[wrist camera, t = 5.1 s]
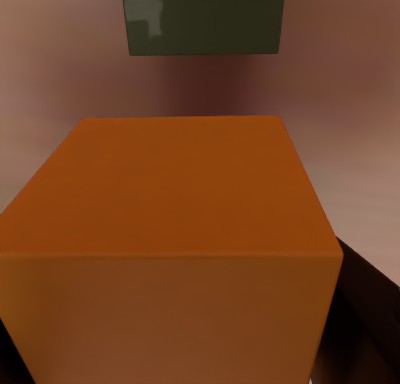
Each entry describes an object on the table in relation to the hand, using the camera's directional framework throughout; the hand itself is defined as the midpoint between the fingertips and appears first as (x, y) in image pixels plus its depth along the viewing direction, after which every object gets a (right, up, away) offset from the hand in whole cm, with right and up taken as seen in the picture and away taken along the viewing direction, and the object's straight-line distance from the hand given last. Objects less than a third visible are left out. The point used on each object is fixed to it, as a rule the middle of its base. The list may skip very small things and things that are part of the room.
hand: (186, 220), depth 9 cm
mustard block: (0, +1, +1) cm, 1 cm away
